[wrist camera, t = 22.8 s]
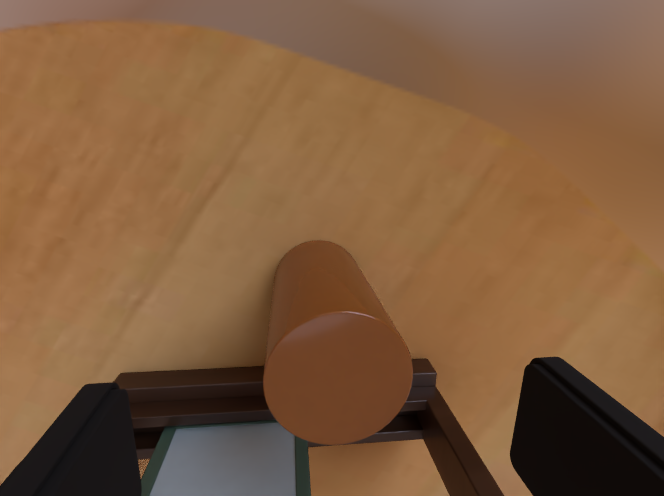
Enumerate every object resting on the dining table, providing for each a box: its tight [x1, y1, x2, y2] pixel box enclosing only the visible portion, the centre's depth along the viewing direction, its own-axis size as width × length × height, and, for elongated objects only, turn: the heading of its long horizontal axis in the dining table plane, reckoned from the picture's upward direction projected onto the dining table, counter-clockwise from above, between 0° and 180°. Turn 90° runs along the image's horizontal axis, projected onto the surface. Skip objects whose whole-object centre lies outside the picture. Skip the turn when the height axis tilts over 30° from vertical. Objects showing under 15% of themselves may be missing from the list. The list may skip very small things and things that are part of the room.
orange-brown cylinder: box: [263, 241, 413, 445], centre depth 16 cm, size 5×5×9 cm
